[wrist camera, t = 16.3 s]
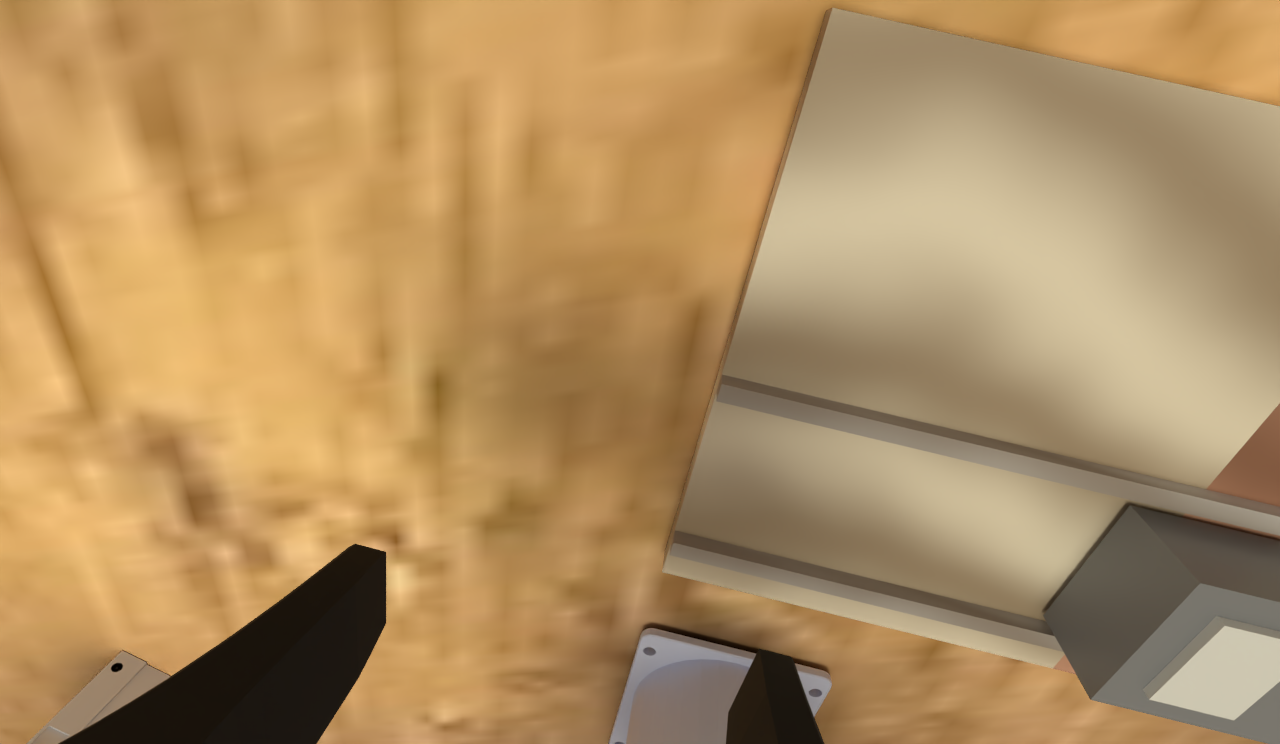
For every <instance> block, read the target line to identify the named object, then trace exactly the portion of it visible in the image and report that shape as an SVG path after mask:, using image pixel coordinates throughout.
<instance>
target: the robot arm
mask: <svg viewBox="0 0 1280 744" xmlns="http://www.w3.org/2000/svg"><path fill="white" fill-rule="evenodd" d="M385 624H386V552H384V551H380V550H377V549H373V548H369V547H365V546H361V545H357V544H354V545H352V546H350V547H348V548H347V549H346V550H345V551H343V552H342V553H341V554H340V555H338V556H337V557H336V558H335V559H333V560H332V561H331V562H329V563H328V564H327V565H326V566H324V567H323V568H322V569H321V570H319V571H318V572H317V573H315V574H314V575H313V576H312V577H310V578H309V579H308V580H306V581H305V582H304V583H302V584H301V585H300V586H298V587H297V588H296V589H295V590H293V591H292V592H291V593H289V594H288V595H287V596H285V597H284V598H283V599H281V600H280V601H279V602H277V603H276V604H275V605H273V606H272V607H270V608H269V609H268V610H266V611H265V612H264V613H262V614H261V615H259V616H258V617H257V618H255V619H254V620H253V621H251V622H250V623H248V624H247V625H246V626H244V627H243V628H242V629H240V630H239V631H237V632H236V633H235V634H233V635H232V636H230V637H229V638H227V639H226V640H225V641H223V642H222V643H220V644H219V645H217V646H216V647H214V648H213V649H211V650H210V651H208V652H207V653H205V654H204V655H202V656H201V657H199V658H198V659H196V660H195V661H193V662H192V663H190V664H189V665H187V666H186V667H184V668H183V669H181V670H180V671H178V672H177V673H175V674H174V675H172V676H171V677H169V678H168V679H166V680H165V681H163V682H161V683H160V684H158V685H157V686H155V687H154V688H152V689H150V690H149V691H147V692H146V693H144V694H142V695H141V696H139V697H137V698H136V699H134V700H133V701H131V702H129V703H128V704H126V705H124V706H123V707H121V708H119V709H118V710H116V711H114V712H113V713H111V714H109V715H107V716H106V717H104V718H102V719H101V720H99V721H97V722H96V723H94V724H92V725H90V726H89V727H87V728H85V729H83V730H82V731H80V732H78V733H76V734H74V735H73V736H71V737H69V738H67V739H65V740H64V741H62V742H60V743H58V744H316V743H317V742H318V740H319V739H320V737H321V736H322V734H323V733H324V731H325V729H326V728H327V726H328V725H329V723H330V722H331V720H332V719H333V717H334V715H335V714H336V712H337V711H338V709H339V708H340V706H341V704H342V703H343V701H344V700H345V698H346V697H347V695H348V694H349V692H350V690H351V689H352V687H353V686H354V684H355V682H356V681H357V679H358V678H359V676H360V674H361V672H362V670H363V668H364V666H365V664H366V662H367V660H368V658H369V656H370V654H371V653H372V650H373V648H374V646H375V644H376V642H377V640H378V638H379V636H380V634H381V632H382V630H383V628H384V626H385ZM831 687H832V682H831V677H830V675H829V674H828V673H827V672H826V671H823V670H820V669H816V668H812V667H808V666H804V665H800V664H796V663H795V662H794V661H793V659H792V658H791V657H789V656H786V655H782V654H778V653H774V652H770V651H766V650H762V649H758V652H757V654H756V653H752V652H748V651H744V650H740V649H736V648H732V647H728V646H724V645H720V644H716V643H711V642H707V641H703V640H699V639H695V638H691V637H687V636H683V635H679V634H675V633H671V632H667V631H663V630H659V629H655V628H648V629H645V630H644V631H643V632H642V633H641V636H640V639H639V643H638V646H637V649H636V653H635V656H634V659H633V663H632V666H631V669H630V673H629V676H628V679H627V683H626V686H625V689H624V693H623V696H622V699H621V703H620V706H619V709H618V713H617V716H616V719H615V723H614V726H613V729H612V733H611V736H610V739H609V743H608V744H824V742H823V739H822V737H821V734H820V731H819V729H818V726H817V724H816V721H815V718H814V717H815V715H816V713H817V711H818V710H819V708H820V706H821V704H822V703H823V701H824V699H825V698H826V696H827V694H828V692H829V691H830V689H831Z"/></svg>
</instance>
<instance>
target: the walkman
mask: <svg viewBox="0 0 1280 744" xmlns="http://www.w3.org/2000/svg"><path fill="white" fill-rule="evenodd" d="M169 677H170V676H169V675H167V674H165V673H163V672H161V671H159V670H157V669H155V668H153V667H151V666H149V665H147V662H145V661H143V660H141V659H139V658H137V657H135V656H133V655H131V654H129V653H127V652H124V651H121V652H120V653H119V654H118V655H117V656H116V657H115V658H114V659H113V660H112V661H111V662H110V663H109V664H108V665H107V666H106V667H105V668H104V669H103V670H102V671H101V672H100V673H99V674H98V675H97V676H96V677H94V678H93V679H92V680H91V681H90V682H89V683H88V684H87V685H86V686H85V687H84V688H83V689H82V690H81V691H80V692H79V693H78V694H77V695H76V696H75V697H74V698H73V699H72V700H71V701H70V702H69V703H68V704H67V705H66V706H65V707H64V708H63V709H62V710H60V711H59V712H58V713H57V714H56V715H55V716H54V717H53V718H52V719H51V720H50V721H49V722H48V723H47V724H46V725H45V726H44V727H43V728H42V729H41V730H40V731H39V732H38V733H37V734H36V735H35V736H34V737H33V738H32V739H31V740H30V741H29V742H28V743H26V744H58V743H60V742H62V741H64V740H65V739H67V738H69V737H71V736H73V735H74V734H76V733H78V732H80V731H82V730H83V729H85V728H87V727H89V726H90V725H92V724H94V723H96V722H97V721H99V720H101V719H102V718H104V717H106V716H107V715H109V714H111V713H113V712H114V711H116V710H118V709H119V708H121V707H123V706H124V705H126V704H128V703H129V702H131V701H133V700H134V699H136V698H137V697H139V696H141V695H142V694H144V693H146V692H147V691H149V690H150V689H152V688H154V687H155V686H157V685H158V684H160V683H161V682H163V681H165V680H166V679H168V678H169Z"/></svg>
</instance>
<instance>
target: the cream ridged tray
mask: <svg viewBox="0 0 1280 744" xmlns="http://www.w3.org/2000/svg"><path fill="white" fill-rule="evenodd" d="M1130 505H1131V506H1135V507H1140V508H1144V509H1148V510H1152V511H1156V512H1161V513H1165V514H1169V515H1173V516H1177V517H1181V518H1186V519H1190V520H1194V521H1198V522H1202V523H1207V524H1211V525H1215V526H1219V527H1223V528H1227V529H1232V530H1236V531H1240V532H1244V533H1248V534H1253V535H1257V536H1261V537H1265V538H1269V539H1274V540H1278V541H1280V106H1276V105H1271V104H1267V103H1262V102H1258V101H1253V100H1249V99H1244V98H1239V97H1235V96H1230V95H1226V94H1221V93H1217V92H1212V91H1208V90H1203V89H1199V88H1194V87H1190V86H1185V85H1181V84H1176V83H1172V82H1167V81H1162V80H1158V79H1153V78H1149V77H1144V76H1140V75H1135V74H1131V73H1126V72H1122V71H1117V70H1113V69H1108V68H1104V67H1099V66H1094V65H1090V64H1085V63H1081V62H1076V61H1072V60H1067V59H1063V58H1058V57H1054V56H1049V55H1045V54H1040V53H1036V52H1031V51H1027V50H1022V49H1017V48H1013V47H1008V46H1004V45H999V44H995V43H990V42H986V41H981V40H977V39H972V38H968V37H963V36H959V35H954V34H949V33H945V32H940V31H936V30H931V29H927V28H922V27H918V26H913V25H909V24H904V23H900V22H895V21H891V20H886V19H882V18H877V17H872V16H868V15H863V14H859V13H854V12H850V11H845V10H841V9H836V8H831V9H829V10H827V11H826V13H825V17H824V20H823V23H822V27H821V30H820V33H819V37H818V40H817V44H816V47H815V50H814V54H813V57H812V60H811V64H810V67H809V70H808V74H807V77H806V80H805V84H804V87H803V90H802V94H801V97H800V100H799V104H798V107H797V111H796V114H795V117H794V121H793V124H792V127H791V131H790V134H789V137H788V141H787V144H786V147H785V151H784V154H783V157H782V161H781V164H780V168H779V171H778V174H777V178H776V181H775V184H774V188H773V191H772V194H771V198H770V201H769V204H768V208H767V211H766V214H765V218H764V221H763V225H762V228H761V231H760V235H759V238H758V241H757V245H756V248H755V251H754V255H753V258H752V261H751V265H750V268H749V271H748V275H747V278H746V281H745V285H744V288H743V292H742V295H741V298H740V302H739V305H738V308H737V312H736V315H735V318H734V322H733V325H732V328H731V332H730V335H729V338H728V342H727V345H726V349H725V352H724V355H723V359H722V362H721V365H720V369H719V372H718V375H717V379H716V382H715V385H714V389H713V392H712V395H711V399H710V402H709V405H708V409H707V412H706V416H705V419H704V422H703V426H702V429H701V432H700V436H699V439H698V442H697V446H696V449H695V452H694V456H693V459H692V462H691V466H690V469H689V473H688V476H687V479H686V483H685V486H684V489H683V493H682V496H681V499H680V503H679V506H678V509H677V513H676V516H675V519H674V523H673V526H672V530H671V533H670V536H669V540H668V543H667V546H666V550H665V554H664V562H663V569H662V572H664V573H668V574H672V575H676V576H680V577H684V578H688V579H692V580H696V581H700V582H704V583H708V584H713V585H717V586H721V587H725V588H729V589H733V590H737V591H741V592H745V593H749V594H753V595H757V596H761V597H765V598H769V599H773V600H777V601H781V602H785V603H790V604H794V605H798V606H802V607H806V608H810V609H814V610H818V611H822V612H826V613H830V614H834V615H838V616H842V617H846V618H850V619H854V620H858V621H862V622H867V623H871V624H875V625H879V626H883V627H887V628H891V629H895V630H899V631H903V632H907V633H911V634H915V635H919V636H923V637H927V638H931V639H935V640H940V641H944V642H948V643H952V644H956V645H960V646H964V647H968V648H972V649H976V650H980V651H984V652H988V653H992V654H996V655H1000V656H1004V657H1008V658H1012V659H1017V660H1021V661H1025V662H1029V663H1033V664H1037V665H1041V666H1045V667H1049V668H1053V669H1057V670H1061V671H1065V672H1069V673H1073V674H1076V673H1075V671H1074V669H1073V668H1072V666H1071V664H1070V662H1069V661H1068V659H1067V657H1066V655H1065V654H1064V652H1063V650H1062V648H1061V646H1060V645H1059V643H1058V641H1057V639H1056V638H1055V636H1054V634H1053V632H1052V631H1051V629H1050V627H1049V625H1048V623H1047V622H1046V620H1045V618H1044V616H1043V615H1044V614H1045V613H1046V611H1047V610H1048V609H1049V607H1050V606H1051V605H1052V604H1053V602H1054V601H1055V600H1056V599H1057V597H1058V596H1059V595H1060V593H1061V592H1062V591H1063V590H1064V588H1065V587H1066V586H1067V585H1068V583H1069V582H1070V581H1071V580H1072V578H1073V577H1074V576H1075V574H1076V573H1077V572H1078V571H1079V569H1080V568H1081V567H1082V566H1083V564H1084V563H1085V562H1086V560H1087V559H1088V558H1089V557H1090V555H1091V554H1092V553H1093V552H1094V550H1095V549H1096V548H1097V547H1098V545H1099V544H1100V543H1101V541H1102V540H1103V539H1104V538H1105V536H1106V535H1107V534H1108V533H1109V531H1110V530H1111V529H1112V527H1113V526H1114V525H1115V524H1116V522H1117V521H1118V520H1119V519H1120V517H1121V516H1122V515H1123V514H1124V512H1125V511H1126V510H1127V508H1128V507H1129V506H1130Z"/></svg>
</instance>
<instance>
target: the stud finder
mask: <svg viewBox="0 0 1280 744" xmlns="http://www.w3.org/2000/svg"><path fill="white" fill-rule="evenodd" d="M1043 616H1044V618H1045V620H1046V622H1047V623H1048V625H1049V627H1050V629H1051V631H1052V632H1053V634H1054V636H1055V638H1056V639H1057V641H1058V643H1059V645H1060V646H1061V648H1062V650H1063V652H1064V654H1065V655H1066V657H1067V659H1068V661H1069V662H1070V664H1071V666H1072V668H1073V669H1074V671H1075V673H1076V675H1077V677H1078V678H1079V680H1080V682H1081V684H1082V685H1083V687H1084V689H1085V691H1086V692H1087V694H1088V696H1089V698H1090V699H1091V700H1094V701H1098V702H1102V703H1106V704H1110V705H1115V706H1119V707H1123V708H1127V709H1131V710H1135V711H1139V712H1143V713H1147V714H1151V715H1155V716H1159V717H1163V718H1167V719H1171V720H1175V721H1179V722H1183V723H1187V724H1191V725H1195V726H1199V727H1203V728H1207V729H1211V730H1215V731H1220V732H1224V733H1228V734H1232V735H1236V736H1240V737H1244V738H1248V739H1252V740H1256V741H1260V742H1264V743H1268V744H1280V541H1278V540H1274V539H1269V538H1265V537H1261V536H1257V535H1253V534H1248V533H1244V532H1240V531H1236V530H1232V529H1227V528H1223V527H1219V526H1215V525H1211V524H1207V523H1202V522H1198V521H1194V520H1190V519H1186V518H1181V517H1177V516H1173V515H1169V514H1165V513H1161V512H1156V511H1152V510H1148V509H1144V508H1140V507H1135V506H1131V505H1130V506H1129V507H1128V508H1127V510H1126V511H1125V512H1124V514H1123V515H1122V516H1121V517H1120V519H1119V520H1118V521H1117V522H1116V524H1115V525H1114V526H1113V527H1112V529H1111V530H1110V531H1109V533H1108V534H1107V535H1106V536H1105V538H1104V539H1103V540H1102V541H1101V543H1100V544H1099V545H1098V547H1097V548H1096V549H1095V550H1094V552H1093V553H1092V554H1091V555H1090V557H1089V558H1088V559H1087V560H1086V562H1085V563H1084V564H1083V566H1082V567H1081V568H1080V569H1079V571H1078V572H1077V573H1076V574H1075V576H1074V577H1073V578H1072V580H1071V581H1070V582H1069V583H1068V585H1067V586H1066V587H1065V588H1064V590H1063V591H1062V592H1061V593H1060V595H1059V596H1058V597H1057V599H1056V600H1055V601H1054V602H1053V604H1052V605H1051V606H1050V607H1049V609H1048V610H1047V611H1046V613H1045V614H1044V615H1043Z"/></svg>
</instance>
